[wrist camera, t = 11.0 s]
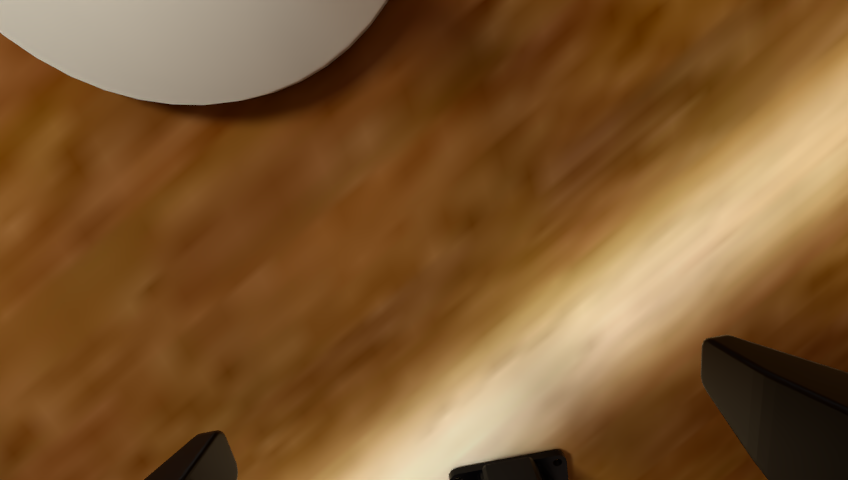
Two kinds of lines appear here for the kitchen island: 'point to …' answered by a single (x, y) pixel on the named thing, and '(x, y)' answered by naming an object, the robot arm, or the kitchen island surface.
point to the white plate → (188, 43)
